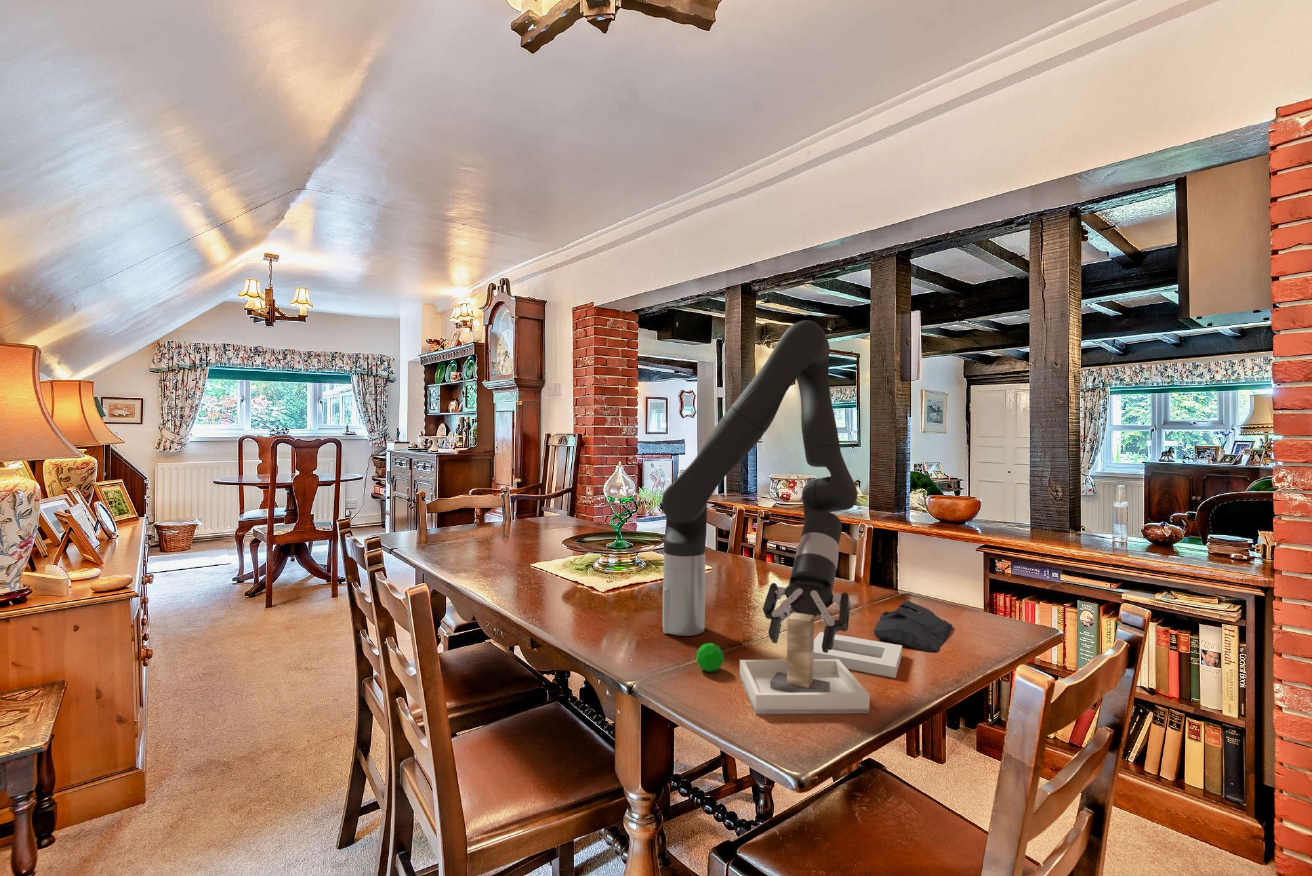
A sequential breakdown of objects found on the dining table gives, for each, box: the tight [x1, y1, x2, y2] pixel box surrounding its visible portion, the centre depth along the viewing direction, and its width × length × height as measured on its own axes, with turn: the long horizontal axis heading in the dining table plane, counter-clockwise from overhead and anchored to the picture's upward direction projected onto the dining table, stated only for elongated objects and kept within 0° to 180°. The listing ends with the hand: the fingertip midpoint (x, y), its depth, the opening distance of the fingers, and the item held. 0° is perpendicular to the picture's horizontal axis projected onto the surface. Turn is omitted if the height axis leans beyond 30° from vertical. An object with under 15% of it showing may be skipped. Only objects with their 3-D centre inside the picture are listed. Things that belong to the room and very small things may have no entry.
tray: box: [739, 659, 871, 715], centre depth 99 cm, size 18×14×3 cm
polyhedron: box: [695, 642, 725, 673], centre depth 108 cm, size 5×5×5 cm
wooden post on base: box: [770, 612, 830, 693], centre depth 99 cm, size 9×4×12 cm, turn 63°
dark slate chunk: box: [872, 599, 954, 653], centre depth 130 cm, size 15×22×5 cm
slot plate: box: [814, 631, 903, 679], centre depth 114 cm, size 16×12×2 cm
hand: (798, 645), depth 98 cm, fingers open, 8 cm apart
